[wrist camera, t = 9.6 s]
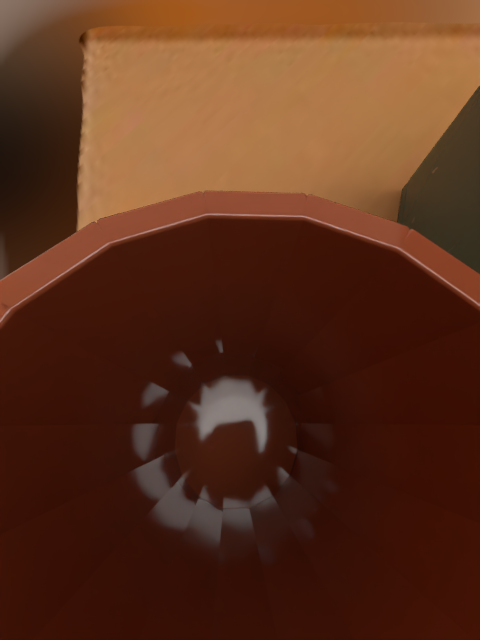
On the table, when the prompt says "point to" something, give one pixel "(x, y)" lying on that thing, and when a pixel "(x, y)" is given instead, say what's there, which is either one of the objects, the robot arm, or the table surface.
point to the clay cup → (240, 428)
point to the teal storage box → (449, 189)
